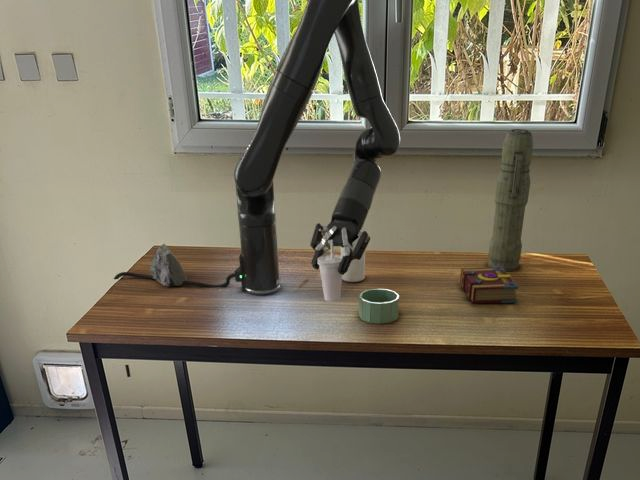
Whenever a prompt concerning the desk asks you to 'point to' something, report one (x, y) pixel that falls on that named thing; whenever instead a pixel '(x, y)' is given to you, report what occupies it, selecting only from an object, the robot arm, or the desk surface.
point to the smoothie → (330, 275)
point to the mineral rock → (167, 268)
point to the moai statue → (511, 200)
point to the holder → (378, 306)
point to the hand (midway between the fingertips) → (327, 270)
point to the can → (354, 267)
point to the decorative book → (488, 285)
